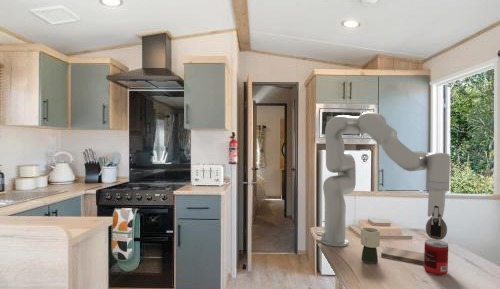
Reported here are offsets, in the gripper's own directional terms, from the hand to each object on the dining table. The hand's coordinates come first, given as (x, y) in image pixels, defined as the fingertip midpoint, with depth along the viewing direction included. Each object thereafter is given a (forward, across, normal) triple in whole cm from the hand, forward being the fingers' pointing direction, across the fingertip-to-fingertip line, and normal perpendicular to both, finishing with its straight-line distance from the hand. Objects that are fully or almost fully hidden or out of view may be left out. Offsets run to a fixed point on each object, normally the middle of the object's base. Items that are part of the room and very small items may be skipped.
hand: (436, 233), depth 121 cm
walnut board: (+14, -10, -12) cm, 21 cm away
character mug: (+15, +4, -23) cm, 27 cm away
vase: (+2, 0, 0) cm, 2 cm away
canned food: (+15, 0, 0) cm, 15 cm away
